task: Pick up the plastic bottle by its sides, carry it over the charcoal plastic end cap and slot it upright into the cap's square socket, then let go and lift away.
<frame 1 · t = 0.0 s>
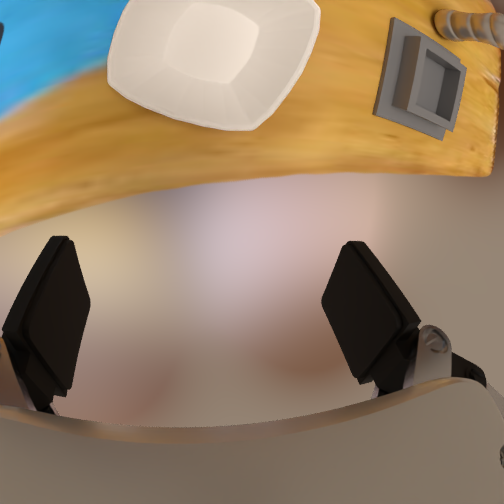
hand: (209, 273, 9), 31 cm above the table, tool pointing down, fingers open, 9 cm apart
end cap: (420, 81, 33), on the table
bowl: (211, 42, 28), on the table
plastic bottle: (440, 24, 26), on the table
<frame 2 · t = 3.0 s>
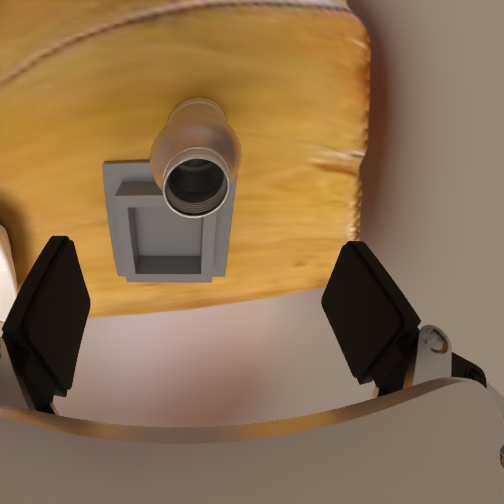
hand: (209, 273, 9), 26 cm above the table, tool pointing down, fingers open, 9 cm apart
end cap: (168, 222, 37), on the table
plastic bottle: (196, 121, 30), on the table
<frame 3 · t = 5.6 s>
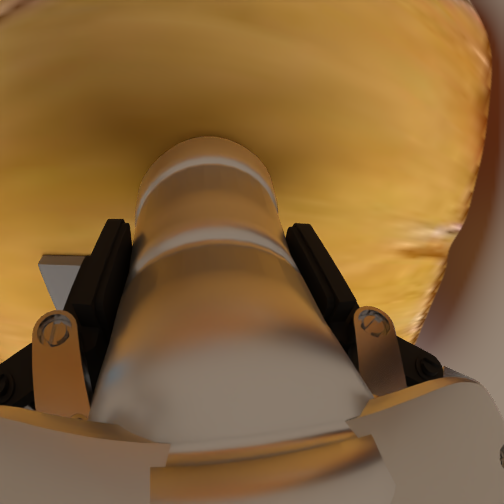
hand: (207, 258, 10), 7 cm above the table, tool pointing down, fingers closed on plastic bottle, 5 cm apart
end cap: (164, 340, 22), on the table
plastic bottle: (203, 184, 15), on the table, touching gripper
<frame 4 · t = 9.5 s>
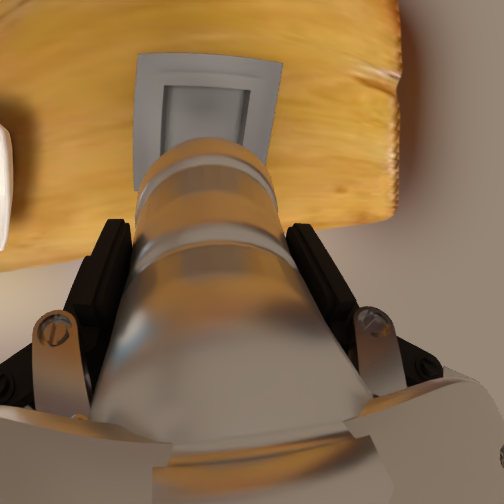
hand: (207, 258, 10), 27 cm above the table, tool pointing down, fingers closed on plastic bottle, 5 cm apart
end cap: (202, 123, 31), on the table
plastic bottle: (203, 184, 15), point 20 cm above the table, touching gripper
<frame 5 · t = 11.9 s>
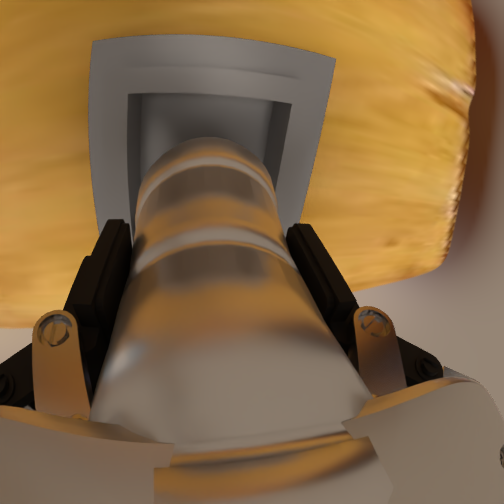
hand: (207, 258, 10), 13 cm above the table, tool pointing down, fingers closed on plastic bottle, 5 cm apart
end cap: (201, 154, 20), on the table
plastic bottle: (203, 184, 15), point 6 cm above the table, touching gripper
when the fingers open (9 cm above the table, at t = 13.5 s): plastic bottle drops 2 cm, resting on end cap.
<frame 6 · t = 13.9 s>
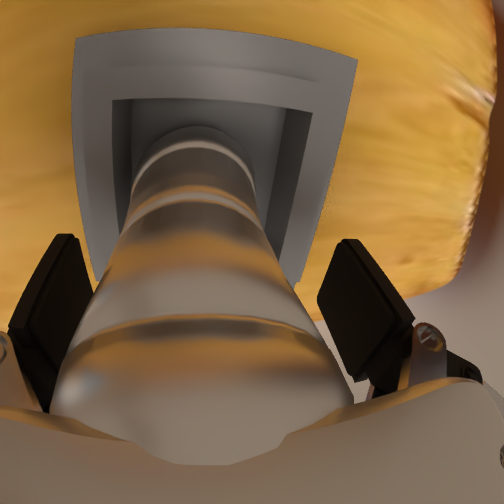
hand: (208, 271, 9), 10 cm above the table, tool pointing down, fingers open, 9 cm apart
end cap: (203, 168, 17), on the table
plastic bottle: (193, 170, 16), point 1 cm above the table, touching end cap
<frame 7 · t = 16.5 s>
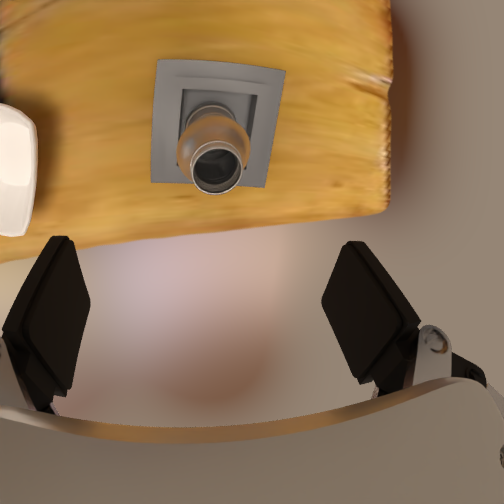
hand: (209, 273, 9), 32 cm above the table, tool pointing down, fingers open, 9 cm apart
end cap: (214, 123, 35), on the table
bowl: (13, 152, 30), on the table
plastic bottle: (209, 122, 34), point 1 cm above the table, touching end cap
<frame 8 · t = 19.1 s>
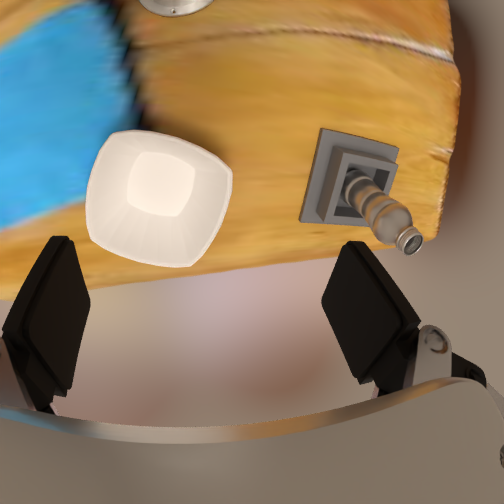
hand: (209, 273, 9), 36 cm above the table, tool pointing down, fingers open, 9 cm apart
end cap: (349, 181, 49), on the table
bowl: (160, 183, 44), on the table
plastic bottle: (349, 182, 48), point 1 cm above the table, touching end cap
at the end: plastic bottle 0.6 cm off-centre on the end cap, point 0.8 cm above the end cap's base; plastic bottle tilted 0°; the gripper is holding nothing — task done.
